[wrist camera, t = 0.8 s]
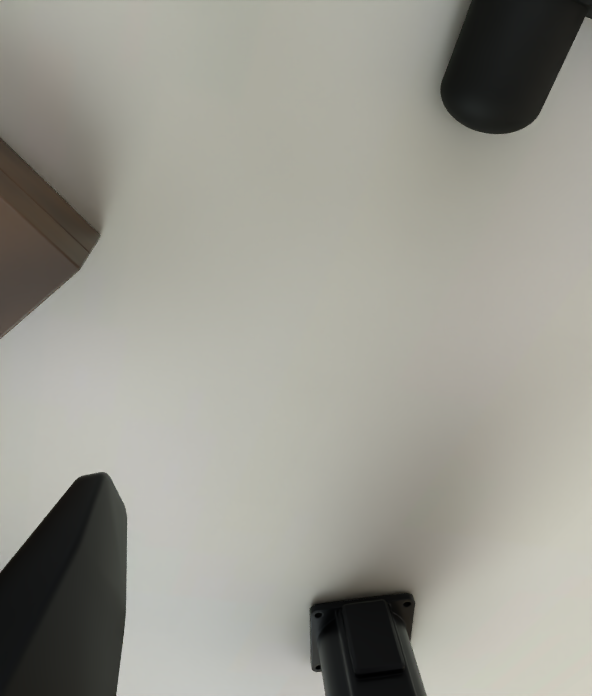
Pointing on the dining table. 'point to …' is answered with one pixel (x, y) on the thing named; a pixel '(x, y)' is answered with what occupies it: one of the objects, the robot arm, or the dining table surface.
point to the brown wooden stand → (35, 240)
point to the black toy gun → (509, 60)
